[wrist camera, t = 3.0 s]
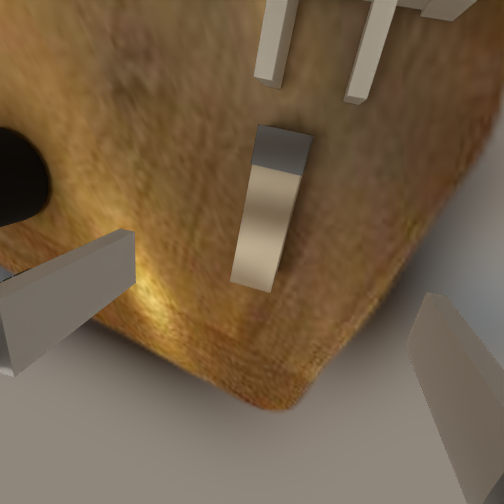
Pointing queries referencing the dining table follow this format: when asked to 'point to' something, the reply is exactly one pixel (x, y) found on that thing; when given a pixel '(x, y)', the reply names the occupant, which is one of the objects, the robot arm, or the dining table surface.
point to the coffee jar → (19, 179)
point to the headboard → (370, 47)
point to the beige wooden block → (269, 204)
